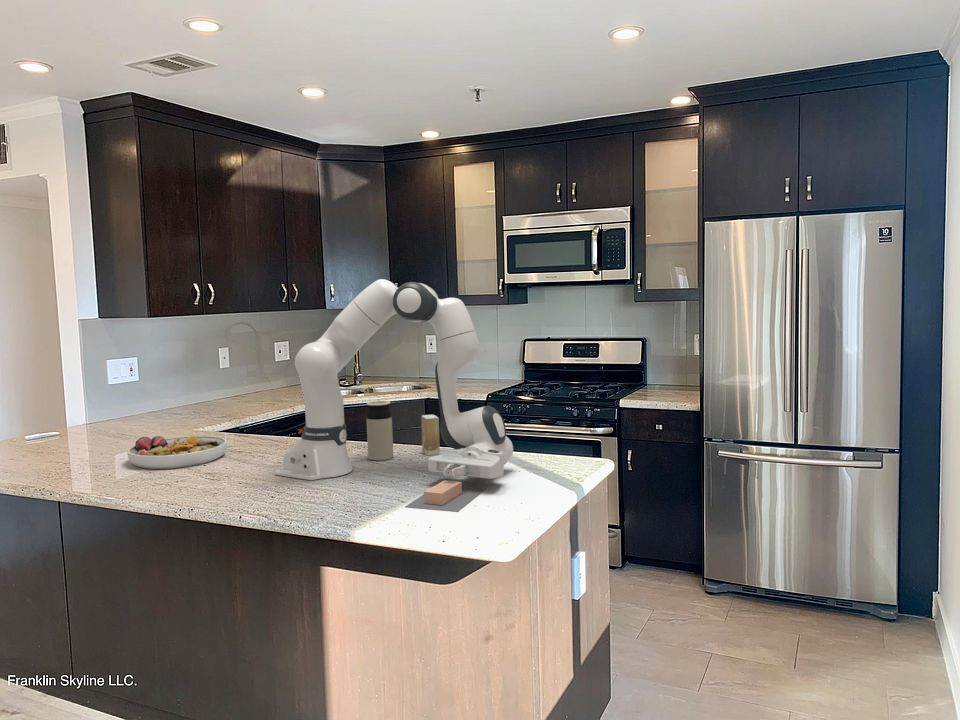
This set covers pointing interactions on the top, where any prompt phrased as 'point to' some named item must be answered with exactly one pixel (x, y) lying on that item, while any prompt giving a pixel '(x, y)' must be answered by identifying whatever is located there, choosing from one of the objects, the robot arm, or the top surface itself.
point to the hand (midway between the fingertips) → (448, 472)
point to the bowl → (176, 451)
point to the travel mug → (379, 430)
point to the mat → (452, 505)
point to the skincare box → (430, 435)
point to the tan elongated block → (442, 492)
